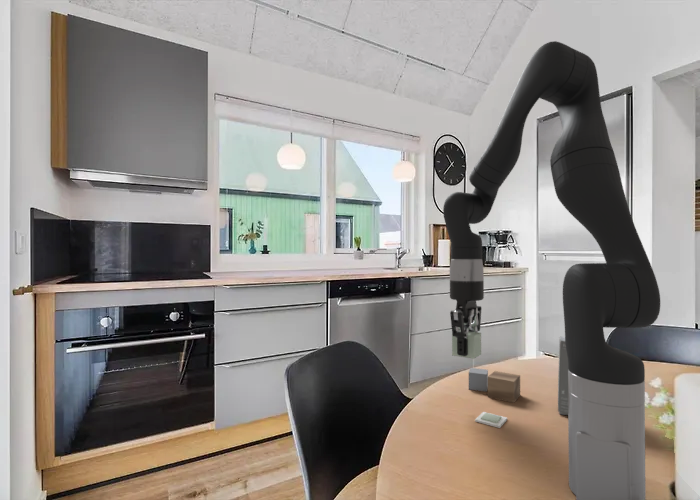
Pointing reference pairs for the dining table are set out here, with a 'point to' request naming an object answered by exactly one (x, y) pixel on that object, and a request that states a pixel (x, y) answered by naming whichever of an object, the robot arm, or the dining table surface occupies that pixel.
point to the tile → (491, 419)
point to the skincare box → (563, 378)
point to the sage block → (469, 345)
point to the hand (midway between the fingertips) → (466, 352)
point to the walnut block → (504, 386)
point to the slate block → (478, 379)
